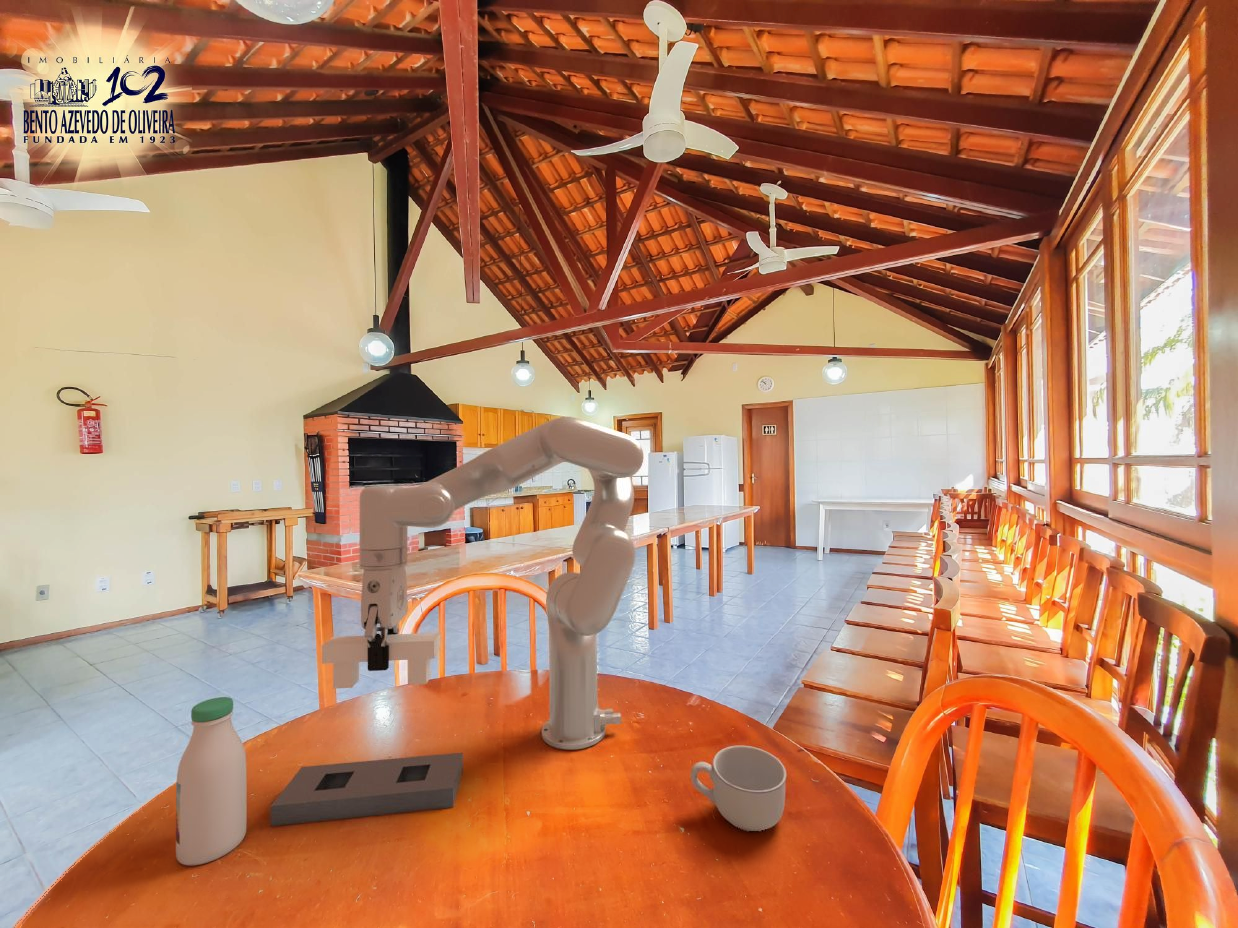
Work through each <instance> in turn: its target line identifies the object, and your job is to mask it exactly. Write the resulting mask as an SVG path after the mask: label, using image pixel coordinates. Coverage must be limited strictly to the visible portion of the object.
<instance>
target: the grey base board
mask: <svg viewBox="0 0 1238 928" xmlns="http://www.w3.org/2000/svg"><path fill="white" fill-rule="evenodd" d="M463 759H464V752H454V753H443V754H431V755H430V754H429V755H420V756H419V755H417V756H408V757H397V758H384V759H377V760H376V759H375V760H363V761H354V762H353V761H352V762H342V763H330V764H329V763H328V764H319V765H318V764H317V765H308V766H307V765H306V766H301V767H300V768H299V769H298V771H297V772H296V774H294V776H293V777H292V778H291V780H290V781H289V782H288V783H287V785H286V786H285V787H284V789H282V791H281V792H280V793H279V795H278V796H277V797H276V799H275V800H274V801H273V803H272V804H271V805H270V816H269V817H270V819H269V820H270V826H269V827H278V826H286V825H287V826H289V825H298V824H307V823H315V822H316V823H317V822H318V823H319V822H325V821H336V820H337V821H338V820H345V819H353V818H354V819H355V818H364V817H365V818H366V817H374V816H383V815H395V814H402V813H410V812H421V811H423V812H424V811H431V810H440V809H441V810H442V809H451V808H454V806H455V801H456V797H457V793H458V790H459V786H460V782H461V778H462V775H463V770H464V766H463V765H464V760H463Z"/></svg>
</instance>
